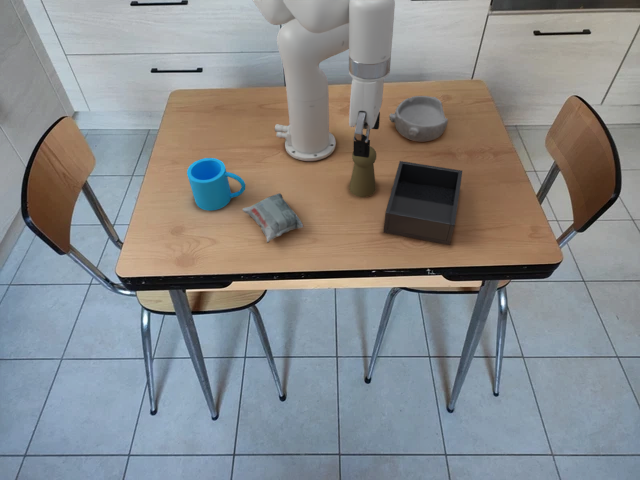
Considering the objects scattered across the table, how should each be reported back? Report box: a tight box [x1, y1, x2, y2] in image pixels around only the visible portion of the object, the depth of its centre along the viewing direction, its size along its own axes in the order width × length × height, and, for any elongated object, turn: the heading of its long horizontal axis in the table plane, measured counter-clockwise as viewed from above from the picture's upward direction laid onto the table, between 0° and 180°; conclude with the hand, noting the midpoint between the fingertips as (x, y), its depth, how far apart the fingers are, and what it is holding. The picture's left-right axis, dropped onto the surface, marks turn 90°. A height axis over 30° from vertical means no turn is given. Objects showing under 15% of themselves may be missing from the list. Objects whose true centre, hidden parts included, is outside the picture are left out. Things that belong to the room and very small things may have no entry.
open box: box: [382, 160, 463, 246], centre depth 104 cm, size 14×17×6 cm
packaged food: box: [242, 192, 304, 244], centre depth 103 cm, size 9×12×5 cm
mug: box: [186, 157, 247, 211], centre depth 107 cm, size 12×8×8 cm
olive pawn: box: [348, 145, 377, 198], centre depth 107 cm, size 6×6×11 cm
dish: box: [388, 95, 449, 143], centre depth 124 cm, size 14×14×5 cm
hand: (366, 141), depth 101 cm, fingers open, 9 cm apart
